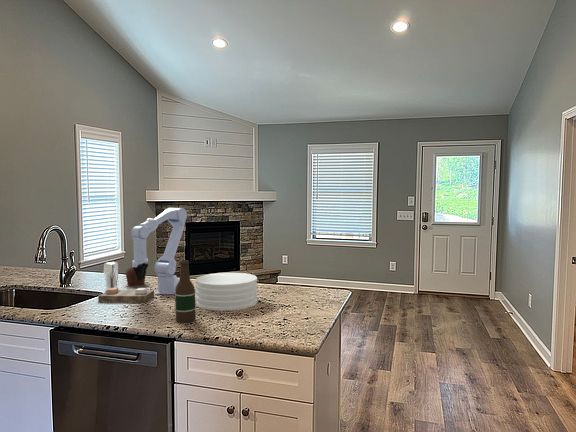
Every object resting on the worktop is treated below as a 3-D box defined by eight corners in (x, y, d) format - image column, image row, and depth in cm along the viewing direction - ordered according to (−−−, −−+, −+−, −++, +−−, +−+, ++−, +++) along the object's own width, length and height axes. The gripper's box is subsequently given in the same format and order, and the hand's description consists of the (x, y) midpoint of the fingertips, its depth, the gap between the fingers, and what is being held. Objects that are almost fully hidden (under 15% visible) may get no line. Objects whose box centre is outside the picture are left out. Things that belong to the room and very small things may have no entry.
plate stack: (219, 293, 221) (219, 270, 221) (268, 299, 209) (267, 275, 208) (183, 306, 196) (182, 281, 195) (236, 313, 184) (235, 286, 183)
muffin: (121, 284, 243) (121, 266, 243) (141, 281, 251) (140, 264, 250) (130, 287, 234) (130, 269, 234) (150, 284, 242) (149, 266, 241)
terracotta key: (118, 293, 211) (118, 287, 211) (114, 295, 207) (114, 289, 207) (110, 293, 211) (110, 287, 211) (106, 295, 207) (106, 289, 207)
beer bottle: (177, 317, 178) (176, 259, 176) (196, 317, 178) (195, 258, 177) (173, 323, 170) (172, 262, 169) (194, 323, 171) (193, 262, 169)
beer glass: (113, 294, 220) (112, 264, 219) (101, 293, 221) (100, 264, 220) (121, 291, 226) (120, 262, 226) (109, 290, 228) (108, 261, 227)
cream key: (146, 294, 210) (146, 288, 210) (143, 296, 206) (143, 289, 206) (138, 294, 211) (138, 288, 211) (135, 296, 207) (135, 289, 207)
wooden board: (154, 296, 214) (153, 290, 214) (144, 302, 203) (144, 296, 202) (110, 296, 216) (110, 290, 215) (98, 302, 204) (98, 295, 204)
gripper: (137, 249, 215) (138, 276, 216) (125, 253, 200) (126, 282, 201) (152, 249, 214) (152, 276, 215) (140, 253, 200) (141, 283, 201)
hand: (140, 279), depth 208 cm, fingers closed
